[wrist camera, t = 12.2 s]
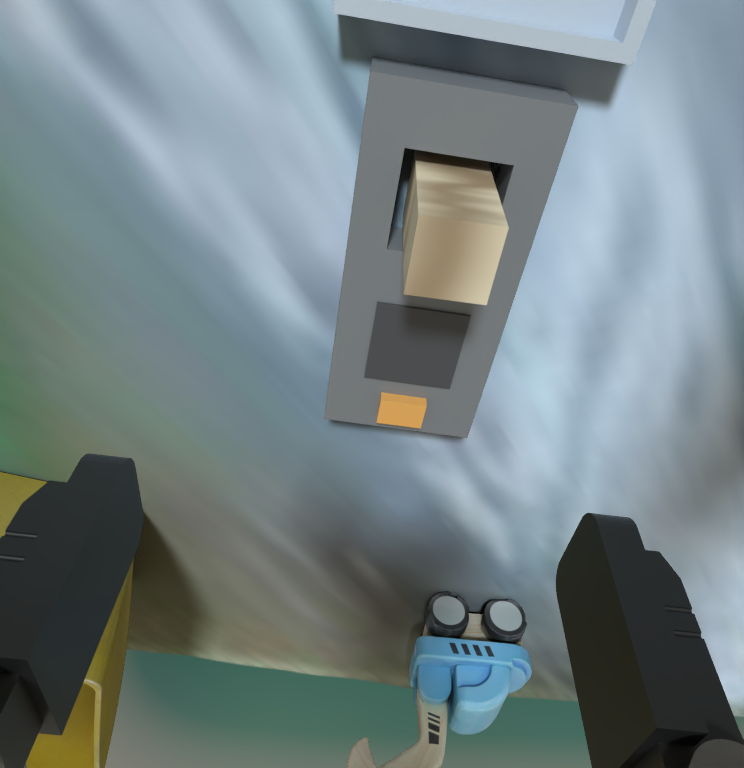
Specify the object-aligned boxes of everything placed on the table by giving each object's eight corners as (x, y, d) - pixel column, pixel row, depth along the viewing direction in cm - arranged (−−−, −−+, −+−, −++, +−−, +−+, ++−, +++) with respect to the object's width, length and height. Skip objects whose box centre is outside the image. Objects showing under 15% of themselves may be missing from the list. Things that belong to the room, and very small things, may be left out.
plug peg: (486, 156, 34) (508, 227, 27) (470, 224, 37) (486, 305, 30) (414, 146, 34) (418, 214, 27) (402, 215, 37) (403, 294, 30)
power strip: (565, 90, 32) (582, 111, 29) (463, 409, 46) (468, 445, 43) (372, 57, 32) (369, 75, 29) (327, 390, 45) (322, 426, 42)
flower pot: (-38, 567, 61) (-158, 756, 48) (-68, 429, 49) (-237, 628, 36) (161, 603, 63) (99, 791, 50) (176, 480, 52) (101, 683, 39)
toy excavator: (359, 582, 60) (348, 784, 47) (531, 597, 61) (569, 800, 47) (353, 630, 65) (341, 823, 52) (511, 643, 66) (540, 837, 53)
